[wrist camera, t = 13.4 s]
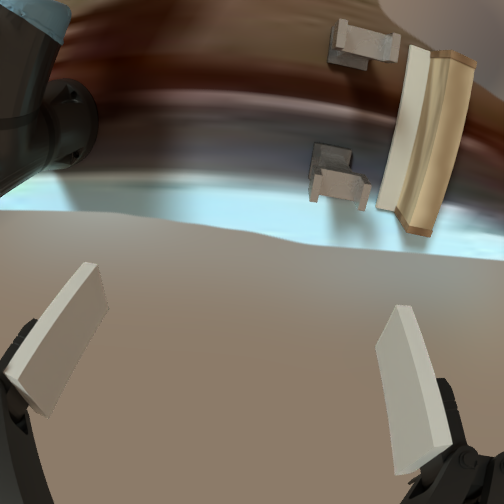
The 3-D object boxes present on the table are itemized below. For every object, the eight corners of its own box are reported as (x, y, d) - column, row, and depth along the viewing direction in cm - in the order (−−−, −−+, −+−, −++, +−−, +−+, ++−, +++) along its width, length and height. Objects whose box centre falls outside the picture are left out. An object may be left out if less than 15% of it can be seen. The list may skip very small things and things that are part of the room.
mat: (375, 206, 43) (376, 207, 42) (409, 45, 30) (411, 44, 29) (432, 218, 42) (433, 220, 42) (470, 70, 29) (472, 70, 29)
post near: (322, 61, 33) (334, 56, 24) (327, 26, 30) (340, 9, 21) (368, 71, 33) (395, 71, 23) (373, 37, 30) (402, 26, 21)
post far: (304, 175, 42) (307, 210, 32) (310, 140, 39) (316, 164, 30) (346, 183, 42) (362, 219, 32) (354, 149, 39) (373, 176, 29)
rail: (393, 212, 42) (406, 232, 37) (430, 51, 29) (451, 49, 24) (415, 216, 42) (430, 237, 37) (454, 61, 29) (476, 61, 24)
